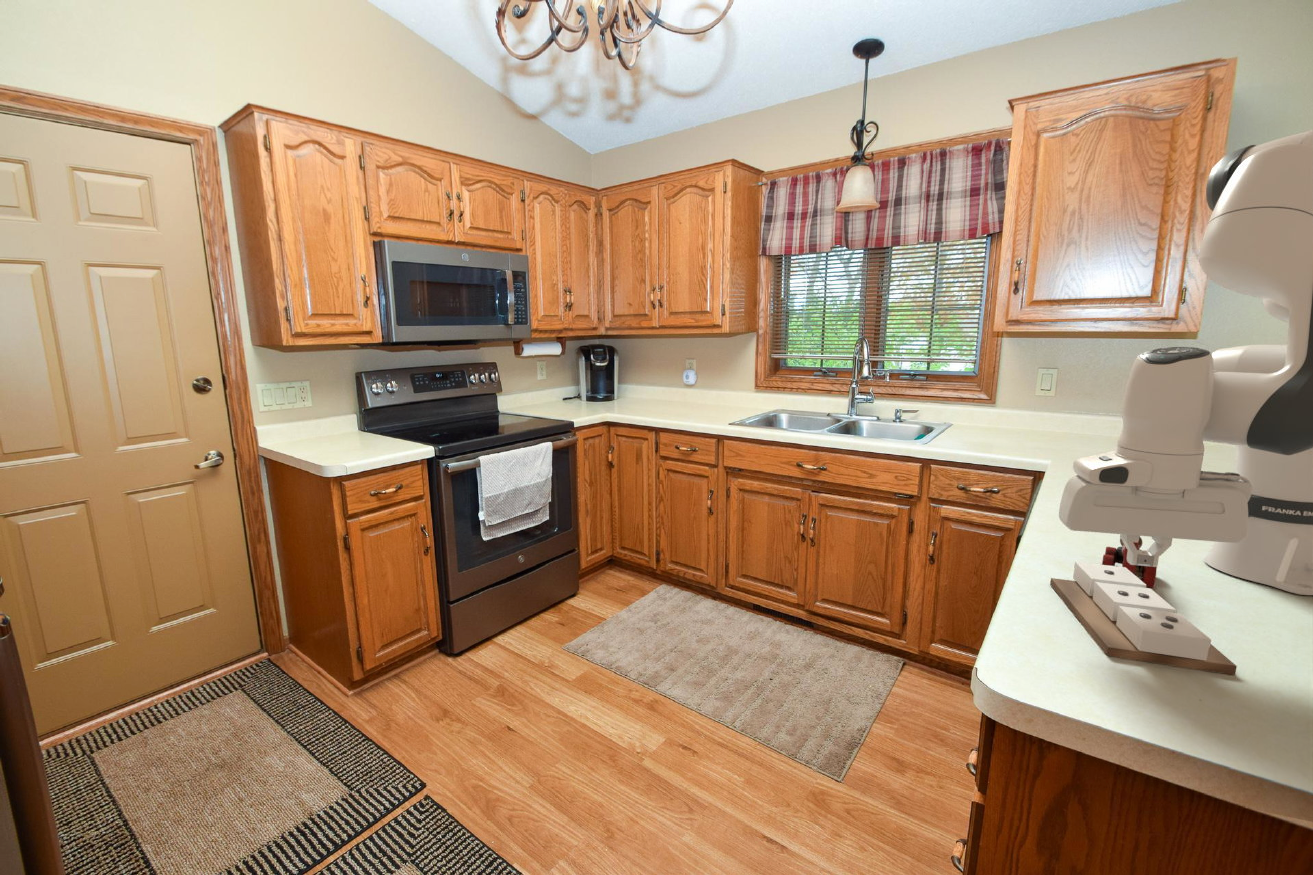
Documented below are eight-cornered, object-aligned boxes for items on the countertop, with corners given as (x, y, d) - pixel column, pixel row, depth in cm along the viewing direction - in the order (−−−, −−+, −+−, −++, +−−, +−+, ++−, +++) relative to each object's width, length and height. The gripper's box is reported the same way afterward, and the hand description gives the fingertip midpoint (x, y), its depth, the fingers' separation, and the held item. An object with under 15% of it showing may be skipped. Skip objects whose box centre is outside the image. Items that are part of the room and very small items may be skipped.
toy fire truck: (1154, 571, 99) (1164, 514, 97) (1153, 595, 89) (1164, 533, 88) (1103, 561, 103) (1112, 506, 101) (1098, 583, 94) (1107, 523, 92)
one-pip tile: (1122, 583, 90) (1125, 566, 90) (1143, 602, 84) (1146, 583, 83) (1072, 577, 92) (1075, 560, 92) (1088, 595, 86) (1091, 577, 85)
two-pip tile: (1147, 606, 83) (1150, 587, 82) (1172, 628, 76) (1175, 608, 76) (1092, 599, 85) (1095, 580, 84) (1111, 620, 78) (1114, 600, 78)
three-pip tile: (1176, 633, 75) (1180, 612, 75) (1207, 660, 69) (1211, 638, 68) (1115, 624, 77) (1118, 604, 77) (1139, 650, 71) (1143, 628, 70)
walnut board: (1146, 596, 89) (1149, 577, 88) (1234, 675, 68) (1240, 650, 68) (1049, 584, 93) (1052, 566, 92) (1106, 655, 73) (1110, 632, 72)
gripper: (1238, 467, 76) (1221, 563, 79) (1060, 459, 83) (1050, 548, 86) (1270, 479, 71) (1250, 582, 73) (1076, 470, 77) (1065, 565, 80)
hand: (1141, 564), depth 79 cm, fingers closed
